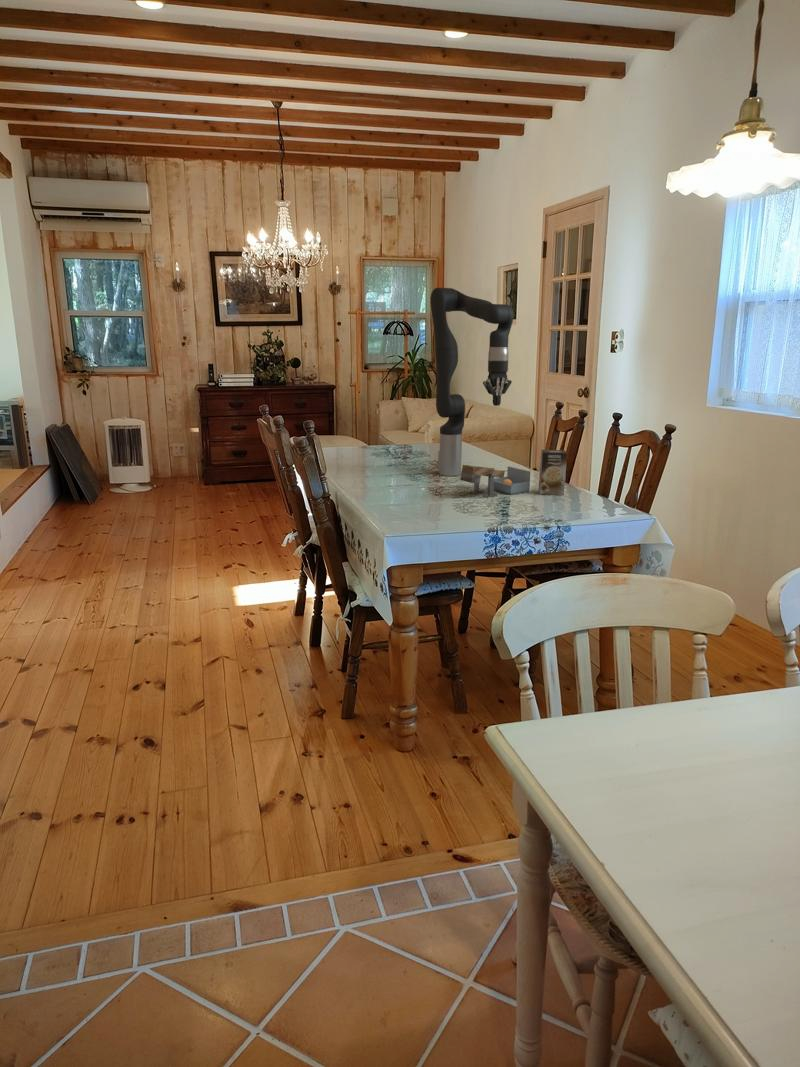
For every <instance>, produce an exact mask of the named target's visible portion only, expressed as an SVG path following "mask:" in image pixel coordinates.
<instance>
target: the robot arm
mask: <svg viewBox="0 0 800 1067" xmlns="http://www.w3.org/2000/svg"><path fill="white" fill-rule="evenodd" d="M429 299H430V301H429V302H430V311H431V317H432V325H433V333H434V355H435V357H434V358H435V369H436V395H435V407H436V408H435V409H436V412H437V414H438V416H439V417H441V418H444V419H445V418H448V419H447V421H446V422H445V423H444V424H442V425H441V426H440V428H439V450H438V454H437V455H438V456H437V459H438V460H437V473H438V475H440V476H447V477H456V476H457V477H458V476H461V473H462V455H463V454H462V452H463V451H462V450H463V449H462V447H463V440H462V439H463V430H464V429H463V428H464V425H465V417H466V416H465V415H466V401H465V399H464V397H463V396H462V395H461V394H460V393H459V394H457V393H454V394H453V393H452V394H451V381H452V378H453V376H454V373H455V371H456V368H457V367H458V363H459V349H458V348H459V347H458V343H457V339H456V338H455V336H454V334H453V333H452V331H451V329H450V327H449V325H448V324H449V323H448V320H447V313H450V312H464V313H466V314H467V315H468V316H471V317H473V318H477V319H480V320H483V321H484V322H486V323H489V324H492V325H497V327H496V329H495V330H493V331H491V332H490V333H489V344H488V345H489V347H488V355H487V356H488V358H487V372H488V375H487V379H486V380H484V381H483V382H482V384H483V386H484V388H485V390H486V392H488V394H489V395H492V404H493V406H494V407H495V406H496V407H500V405H501V402H502V400H501V399H502V395H506V392H507V391H508V389H509V388H510V386H511V385H512V382H513V381H512V380H510V379H509V378H508V374H507V373H508V371H509V336H510V334H511V333H510V332H511V328H512V326H513V322H514V318H515V317H514V316H515V313H514V310H513V307H512V306H511V305H510V304H506V303H504V304H501V303H500V304H499V303H492V301H491V302H490V301H489V300H486V299H482V298H478V297H477V298H476V297H472V296H469V295H467V294H464V293H463V292H460V291H459V290H457V289H455V288H453V287H435V288H433V290H432V291H431V293H430V298H429Z"/></svg>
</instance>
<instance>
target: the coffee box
mask: <svg viewBox="0 0 800 1067" xmlns="http://www.w3.org/2000/svg"><path fill="white" fill-rule="evenodd" d="M567 460H568V452H567V451H566V450H563V449H562V450H561V449H559V450H558V449H541V451H540V463H539V464H540V466H539V478H538V479H539V480H538V495H541V494H546V495H547V496H565V486H566V474H567V473H566V471H567ZM546 495H545V496H546Z"/></svg>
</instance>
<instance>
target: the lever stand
mask: <svg viewBox="0 0 800 1067" xmlns="http://www.w3.org/2000/svg"><path fill="white" fill-rule="evenodd" d="M494 476H495V475H494V474H493V473H489V474H488V476H487V477H488V480H487V481H488V482H487V493H486V494H483V498H485V497H487V498H486V499H489V498H488V497H490V498H496V497H498V493H494V490H493V487H494V478H495V477H494ZM479 492H482V493H484V489H481V488H480V484H477V483H473V490H469V494H472V493H475V494H480V493H479ZM495 496H496V497H495Z"/></svg>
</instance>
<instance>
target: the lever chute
mask: <svg viewBox="0 0 800 1067" xmlns="http://www.w3.org/2000/svg"><path fill="white" fill-rule="evenodd" d="M505 472H506V471H505V470H501V469H500V470H499V469H495V468H494V467H493V468H492V467H485V466H475V465H467V464H462V466H461V475H460V481H464V482H467V483H470V484H474V483H477V484H479V485H480V483H481V478H482V476H483V477H488V474H489V473H493V474H494V475H495V476H494V478H504V477H505Z"/></svg>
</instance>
